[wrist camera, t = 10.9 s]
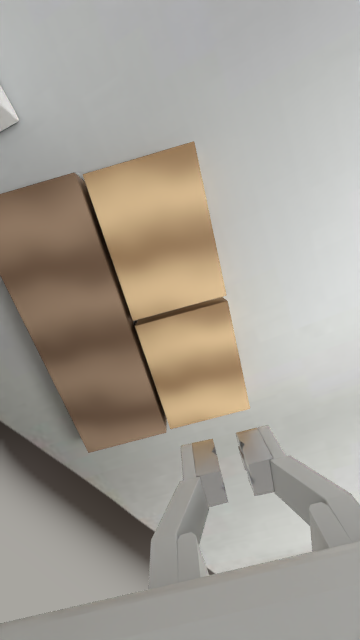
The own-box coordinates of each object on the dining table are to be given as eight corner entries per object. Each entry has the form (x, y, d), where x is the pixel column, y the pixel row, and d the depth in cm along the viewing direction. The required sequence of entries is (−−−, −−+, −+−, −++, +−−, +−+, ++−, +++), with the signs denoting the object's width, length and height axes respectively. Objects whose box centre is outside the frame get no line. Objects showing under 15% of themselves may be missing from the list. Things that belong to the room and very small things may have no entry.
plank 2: (138, 319, 21) (135, 326, 19) (222, 296, 20) (227, 301, 18) (170, 415, 24) (170, 429, 22) (243, 396, 23) (250, 408, 22)
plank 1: (92, 183, 17) (82, 174, 15) (191, 154, 17) (194, 141, 15) (136, 314, 20) (133, 320, 18) (221, 291, 20) (226, 295, 18)
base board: (-13, 210, 17) (-36, 204, 16) (84, 181, 17) (74, 172, 15) (94, 437, 24) (88, 452, 22) (166, 418, 24) (166, 432, 22)
